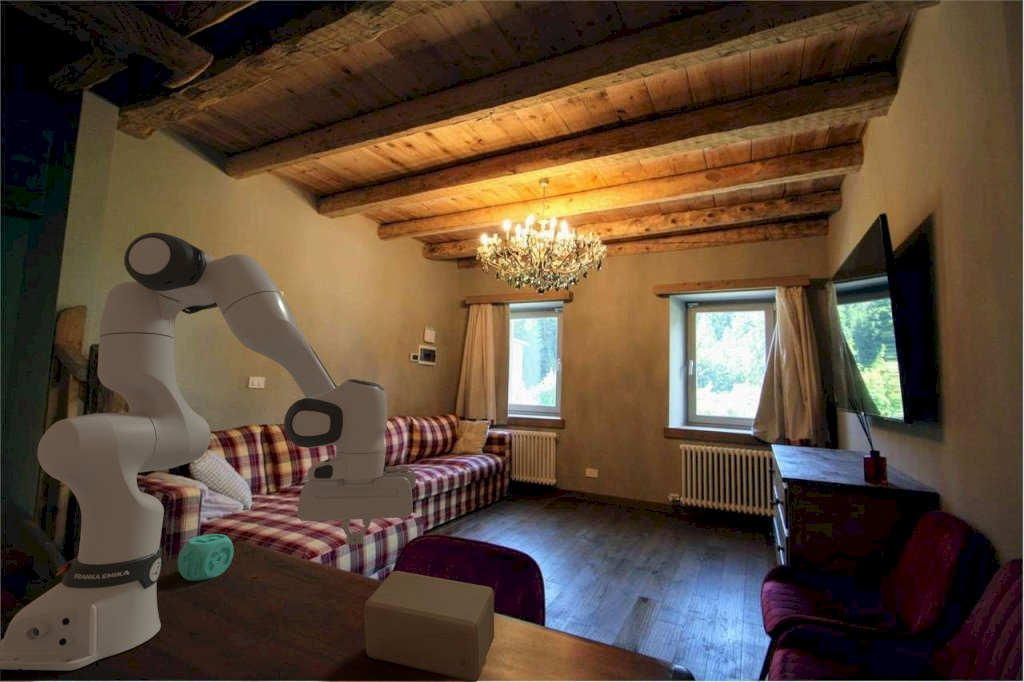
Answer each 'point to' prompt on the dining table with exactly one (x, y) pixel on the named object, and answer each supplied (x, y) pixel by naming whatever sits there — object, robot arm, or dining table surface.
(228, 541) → the decorative dice
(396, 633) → the wooden block
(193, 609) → the dining table surface
